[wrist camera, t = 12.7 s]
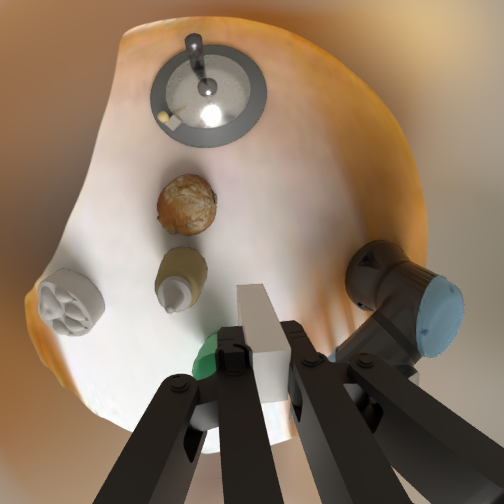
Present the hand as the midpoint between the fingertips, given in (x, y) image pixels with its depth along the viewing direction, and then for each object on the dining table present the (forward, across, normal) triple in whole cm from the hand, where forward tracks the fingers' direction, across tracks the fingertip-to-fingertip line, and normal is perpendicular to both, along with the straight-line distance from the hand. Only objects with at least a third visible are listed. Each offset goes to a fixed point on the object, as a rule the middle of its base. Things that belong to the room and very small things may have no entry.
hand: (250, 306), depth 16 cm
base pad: (+32, -3, +23) cm, 40 cm away
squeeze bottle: (+33, -8, -7) cm, 34 cm away
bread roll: (+33, -7, +3) cm, 34 cm away
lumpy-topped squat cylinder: (+33, -32, -13) cm, 48 cm away
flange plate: (+31, -4, +22) cm, 38 cm away
